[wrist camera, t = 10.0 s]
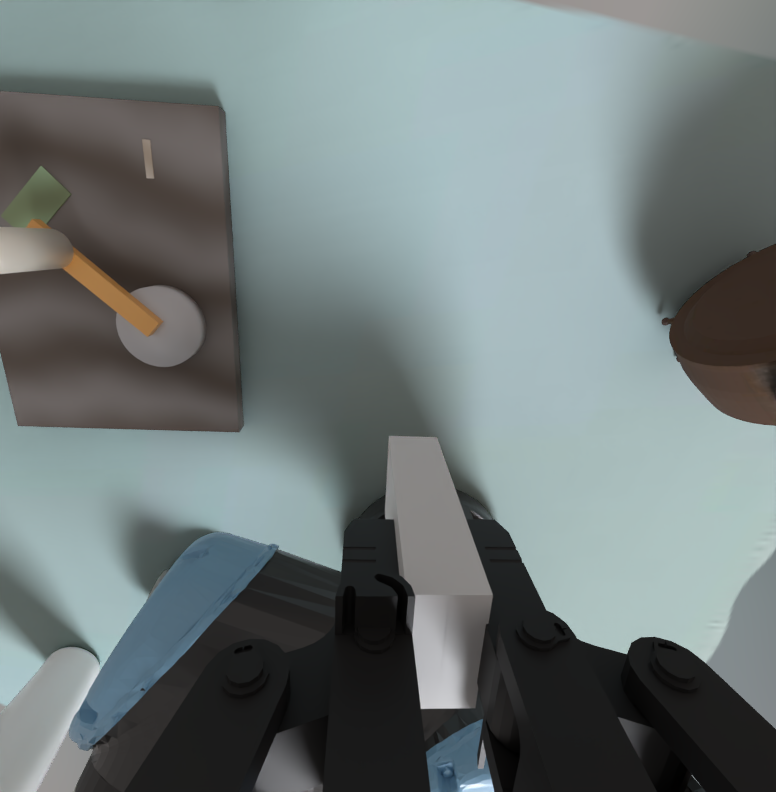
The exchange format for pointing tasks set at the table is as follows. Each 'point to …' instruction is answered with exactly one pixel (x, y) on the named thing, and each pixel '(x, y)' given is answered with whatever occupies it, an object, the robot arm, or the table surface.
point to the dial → (113, 295)
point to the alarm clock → (733, 338)
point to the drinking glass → (43, 717)
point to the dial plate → (118, 260)
